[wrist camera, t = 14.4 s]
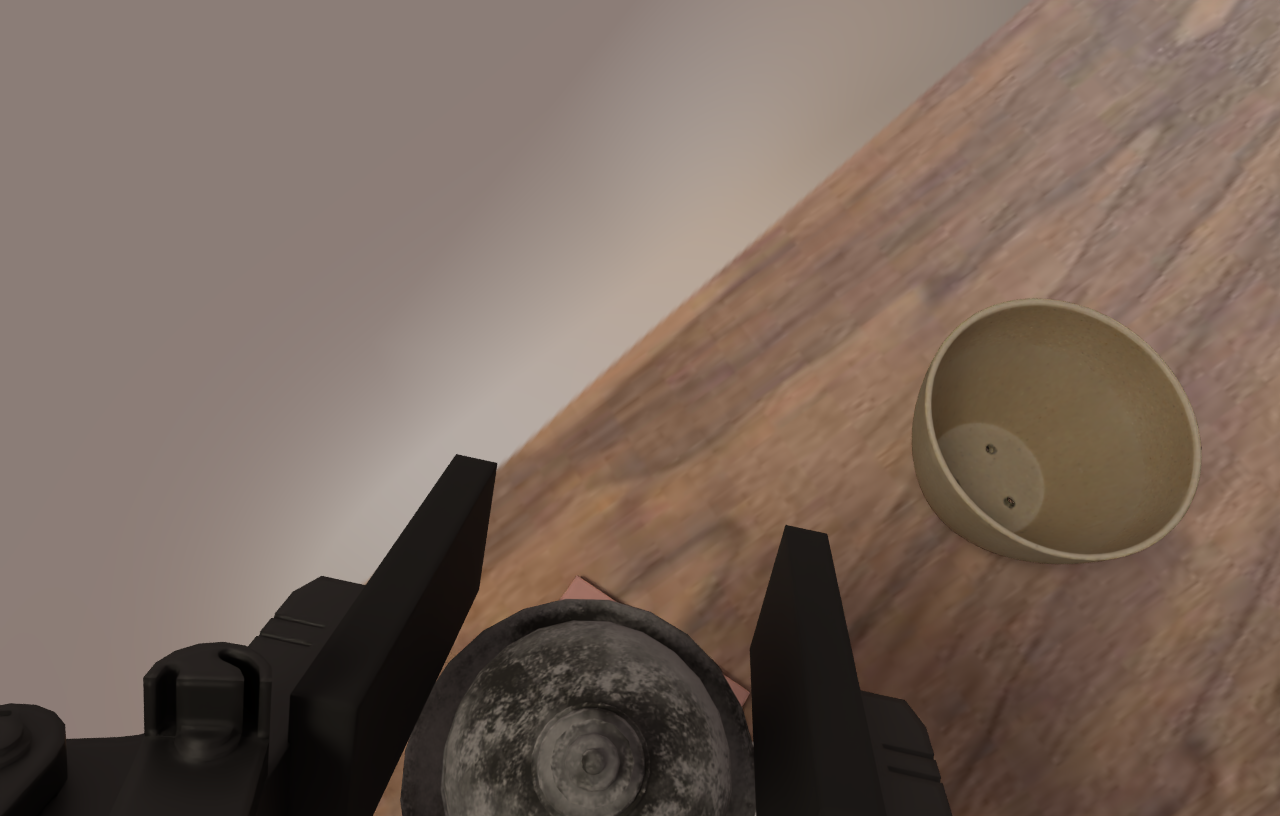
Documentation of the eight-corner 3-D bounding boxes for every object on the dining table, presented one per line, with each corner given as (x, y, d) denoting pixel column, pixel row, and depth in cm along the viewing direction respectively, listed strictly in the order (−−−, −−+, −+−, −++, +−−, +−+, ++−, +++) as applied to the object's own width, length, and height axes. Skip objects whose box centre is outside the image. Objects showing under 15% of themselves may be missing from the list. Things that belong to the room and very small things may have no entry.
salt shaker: (542, 1022, 16) (483, 1498, 5) (375, 747, 18) (66, 680, 7) (783, 809, 18) (1114, 841, 7) (610, 576, 20) (661, 304, 9)
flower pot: (825, 420, 39) (876, 346, 32) (1017, 349, 41) (1102, 265, 34) (937, 637, 36) (1020, 604, 29) (1140, 548, 38) (1260, 497, 31)
